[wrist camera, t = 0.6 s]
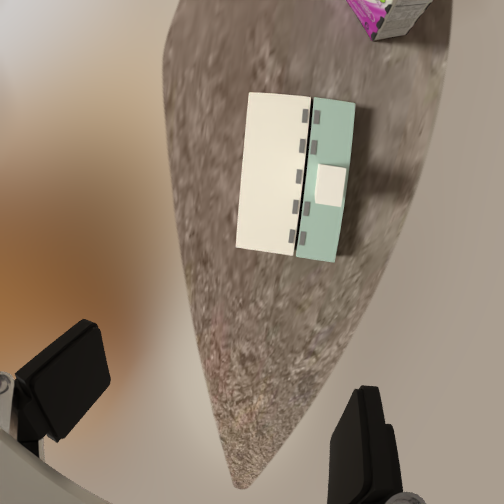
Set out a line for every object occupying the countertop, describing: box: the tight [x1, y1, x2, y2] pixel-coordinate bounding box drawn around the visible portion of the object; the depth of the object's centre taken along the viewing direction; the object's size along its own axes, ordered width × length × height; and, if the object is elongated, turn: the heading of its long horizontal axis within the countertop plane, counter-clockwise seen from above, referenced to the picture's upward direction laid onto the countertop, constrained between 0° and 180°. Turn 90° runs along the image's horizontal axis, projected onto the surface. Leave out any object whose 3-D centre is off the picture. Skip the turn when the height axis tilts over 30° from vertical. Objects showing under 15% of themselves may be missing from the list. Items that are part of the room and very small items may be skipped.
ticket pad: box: [236, 92, 311, 256], centre depth 29 cm, size 16×6×2 cm, turn 175°
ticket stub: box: [296, 97, 355, 262], centre depth 25 cm, size 16×4×8 cm, turn 175°
